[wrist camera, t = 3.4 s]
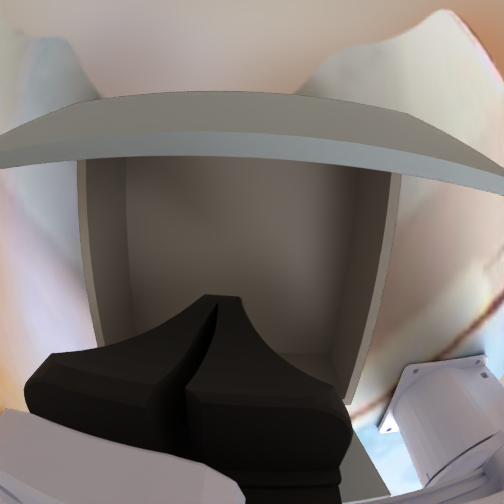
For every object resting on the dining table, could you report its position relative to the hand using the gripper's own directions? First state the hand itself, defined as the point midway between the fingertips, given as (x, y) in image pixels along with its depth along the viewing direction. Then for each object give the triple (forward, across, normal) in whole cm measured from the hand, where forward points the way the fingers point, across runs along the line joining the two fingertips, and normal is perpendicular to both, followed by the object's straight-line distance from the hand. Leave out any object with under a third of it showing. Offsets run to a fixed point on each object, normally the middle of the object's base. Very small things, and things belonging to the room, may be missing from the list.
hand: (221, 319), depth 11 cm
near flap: (-1, 0, -7) cm, 7 cm away
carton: (+7, 0, 0) cm, 7 cm away
